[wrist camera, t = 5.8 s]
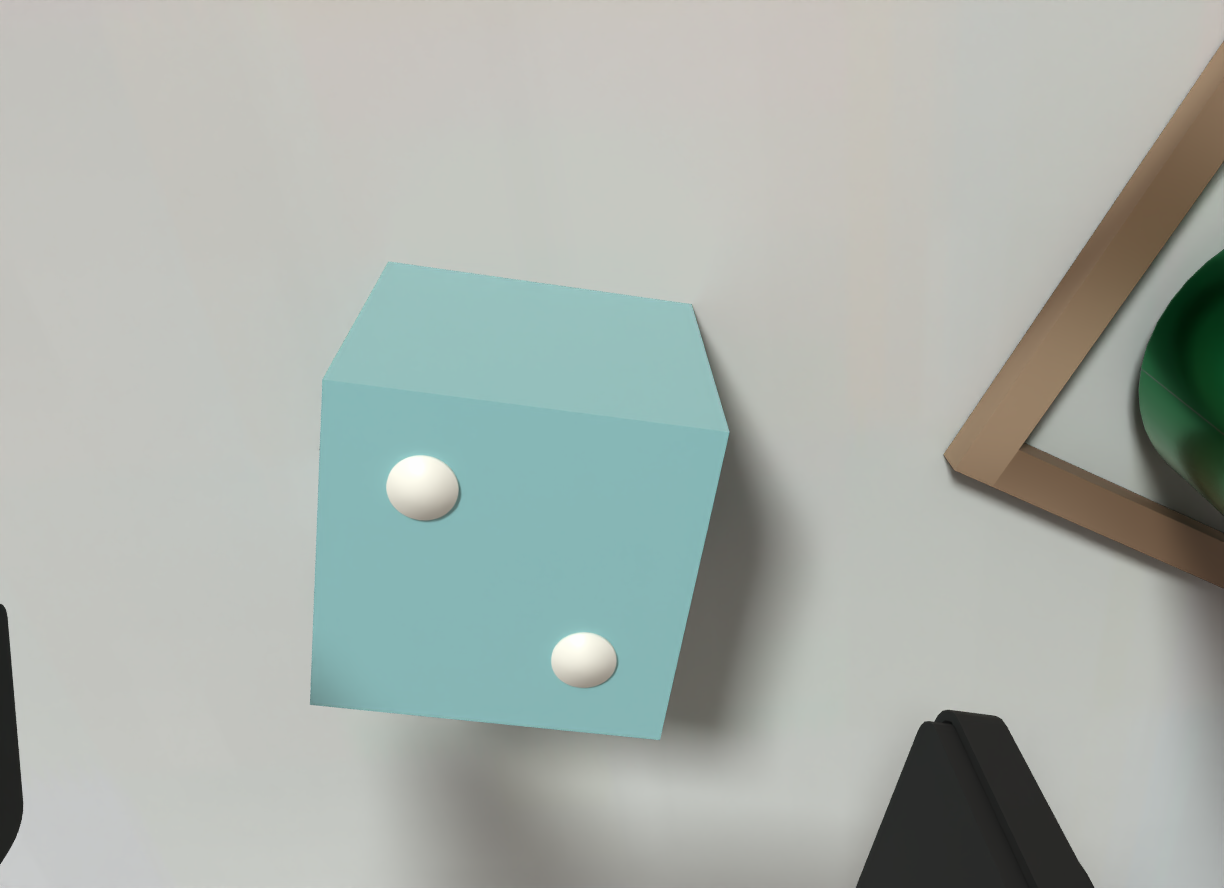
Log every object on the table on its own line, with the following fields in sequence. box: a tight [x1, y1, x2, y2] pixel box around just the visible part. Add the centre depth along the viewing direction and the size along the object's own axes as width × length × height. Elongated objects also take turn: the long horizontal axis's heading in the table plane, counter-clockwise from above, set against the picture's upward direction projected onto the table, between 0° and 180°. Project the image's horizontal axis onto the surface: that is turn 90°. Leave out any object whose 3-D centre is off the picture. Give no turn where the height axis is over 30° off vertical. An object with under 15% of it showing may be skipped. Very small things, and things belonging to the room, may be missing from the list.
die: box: [310, 262, 729, 740], centre depth 16 cm, size 5×5×5 cm
